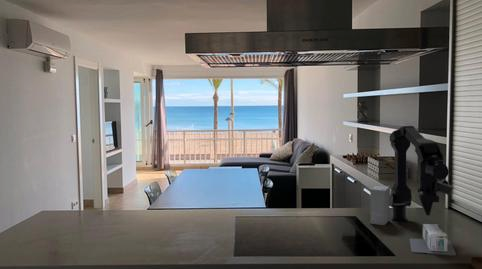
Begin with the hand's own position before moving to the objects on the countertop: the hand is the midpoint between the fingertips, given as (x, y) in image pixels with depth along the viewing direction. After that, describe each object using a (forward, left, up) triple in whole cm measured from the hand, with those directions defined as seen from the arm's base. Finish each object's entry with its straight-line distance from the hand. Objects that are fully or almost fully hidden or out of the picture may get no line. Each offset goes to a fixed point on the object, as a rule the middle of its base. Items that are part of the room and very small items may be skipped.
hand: (428, 215), depth 160 cm
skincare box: (-19, -18, -9) cm, 28 cm away
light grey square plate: (+11, 0, -9) cm, 14 cm away
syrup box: (+2, +1, -6) cm, 6 cm away
